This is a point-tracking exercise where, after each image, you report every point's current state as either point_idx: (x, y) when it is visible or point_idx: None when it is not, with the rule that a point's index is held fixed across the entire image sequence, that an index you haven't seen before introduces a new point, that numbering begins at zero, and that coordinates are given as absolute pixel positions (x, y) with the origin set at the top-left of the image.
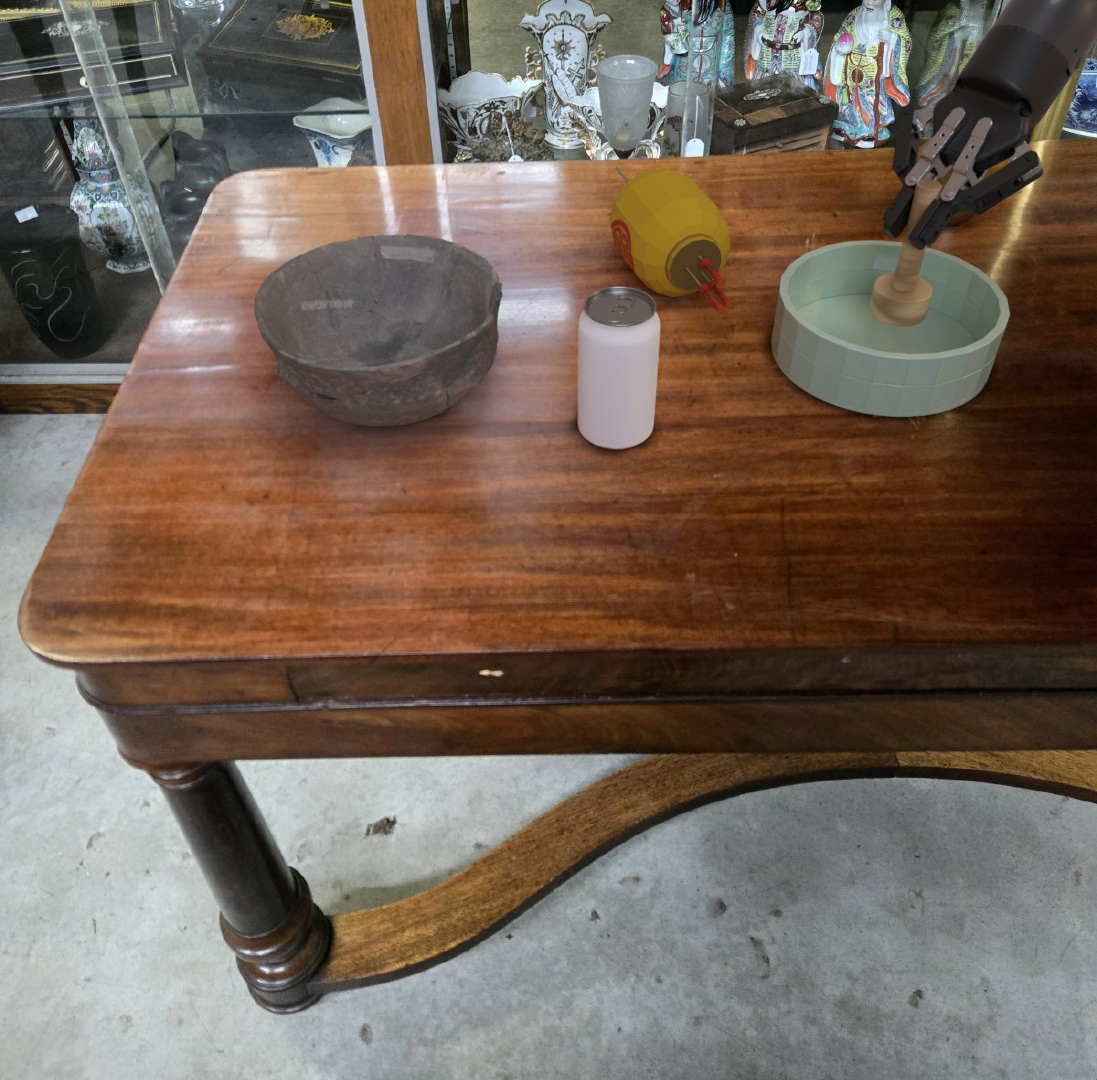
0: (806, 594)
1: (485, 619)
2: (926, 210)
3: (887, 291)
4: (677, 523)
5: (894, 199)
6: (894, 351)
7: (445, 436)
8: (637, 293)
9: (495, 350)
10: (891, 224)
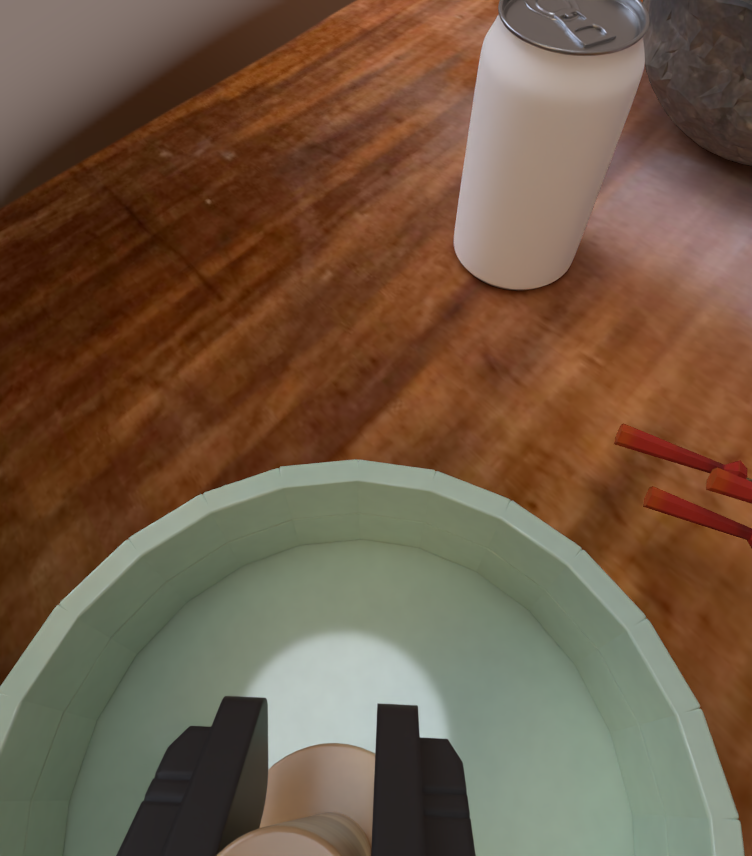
0: (99, 209)
1: (347, 32)
2: (227, 810)
3: (351, 779)
4: (301, 193)
5: (471, 840)
6: None
7: (632, 123)
8: (601, 57)
9: (710, 101)
10: (377, 708)
